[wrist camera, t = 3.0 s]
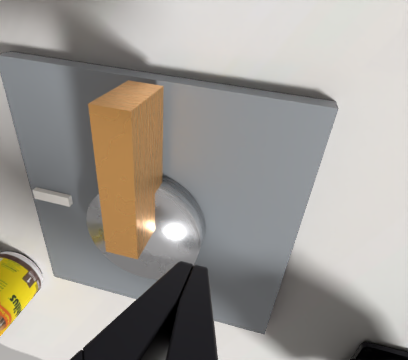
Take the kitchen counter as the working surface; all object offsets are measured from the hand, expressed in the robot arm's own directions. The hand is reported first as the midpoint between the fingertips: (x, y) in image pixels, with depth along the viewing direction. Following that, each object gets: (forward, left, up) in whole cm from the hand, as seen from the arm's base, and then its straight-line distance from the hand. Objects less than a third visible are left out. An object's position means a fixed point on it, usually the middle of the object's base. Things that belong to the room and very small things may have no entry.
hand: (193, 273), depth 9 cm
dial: (+5, +5, -11) cm, 13 cm away
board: (+6, +8, -12) cm, 15 cm away
